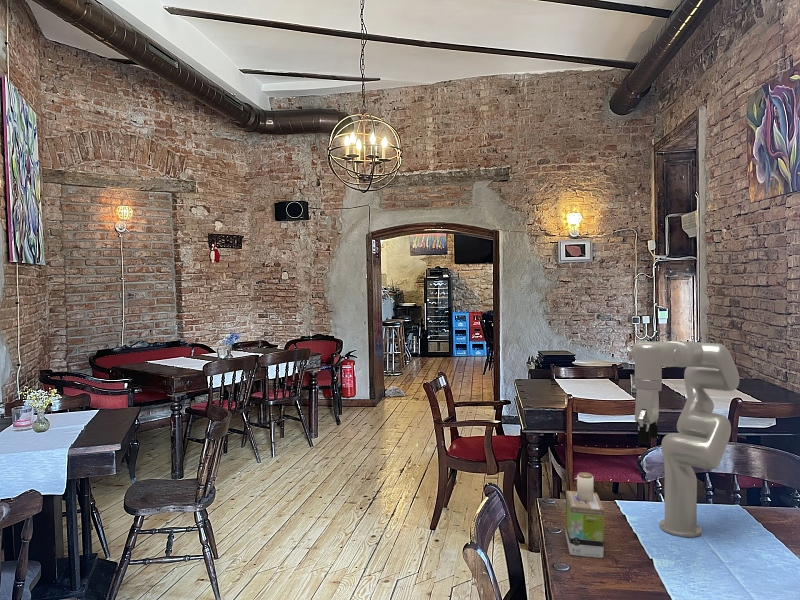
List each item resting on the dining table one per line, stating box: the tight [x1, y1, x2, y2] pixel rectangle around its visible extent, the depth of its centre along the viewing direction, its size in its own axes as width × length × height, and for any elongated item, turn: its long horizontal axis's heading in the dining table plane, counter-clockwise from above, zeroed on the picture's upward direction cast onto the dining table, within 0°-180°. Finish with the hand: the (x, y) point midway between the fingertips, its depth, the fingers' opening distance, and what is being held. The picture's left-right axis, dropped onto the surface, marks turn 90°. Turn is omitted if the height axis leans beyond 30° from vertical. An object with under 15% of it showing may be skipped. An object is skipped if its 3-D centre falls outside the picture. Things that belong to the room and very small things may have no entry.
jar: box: [576, 471, 595, 502], centre depth 173 cm, size 5×5×8 cm
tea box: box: [564, 490, 605, 559], centre depth 173 cm, size 15×10×15 cm, turn 169°
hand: (647, 440), depth 170 cm, fingers open, 9 cm apart
